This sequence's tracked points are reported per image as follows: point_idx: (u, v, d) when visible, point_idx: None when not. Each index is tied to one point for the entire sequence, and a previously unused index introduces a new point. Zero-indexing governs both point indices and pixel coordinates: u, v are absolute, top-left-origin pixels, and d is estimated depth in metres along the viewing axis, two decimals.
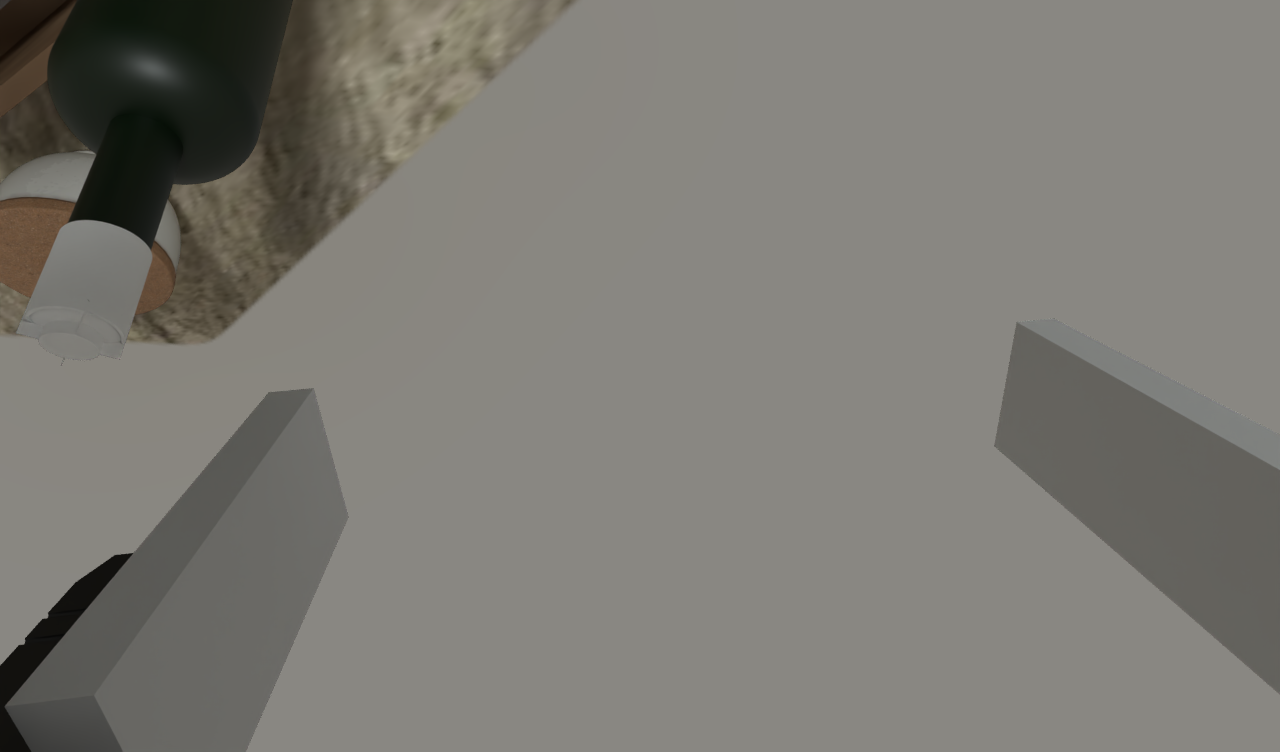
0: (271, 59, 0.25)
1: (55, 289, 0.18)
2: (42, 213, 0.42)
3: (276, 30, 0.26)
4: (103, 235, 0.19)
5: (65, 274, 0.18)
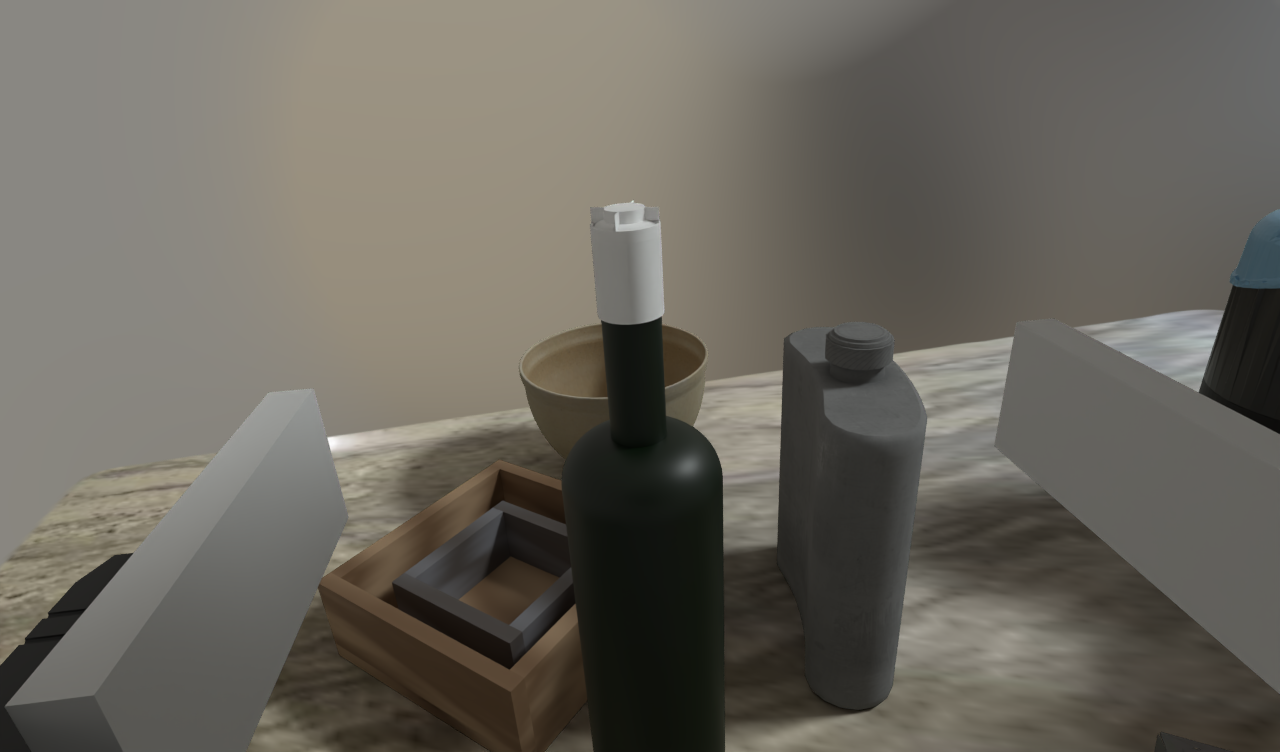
0: (670, 593, 0.24)
1: None
2: None
3: (676, 625, 0.25)
4: (663, 298, 0.22)
5: None
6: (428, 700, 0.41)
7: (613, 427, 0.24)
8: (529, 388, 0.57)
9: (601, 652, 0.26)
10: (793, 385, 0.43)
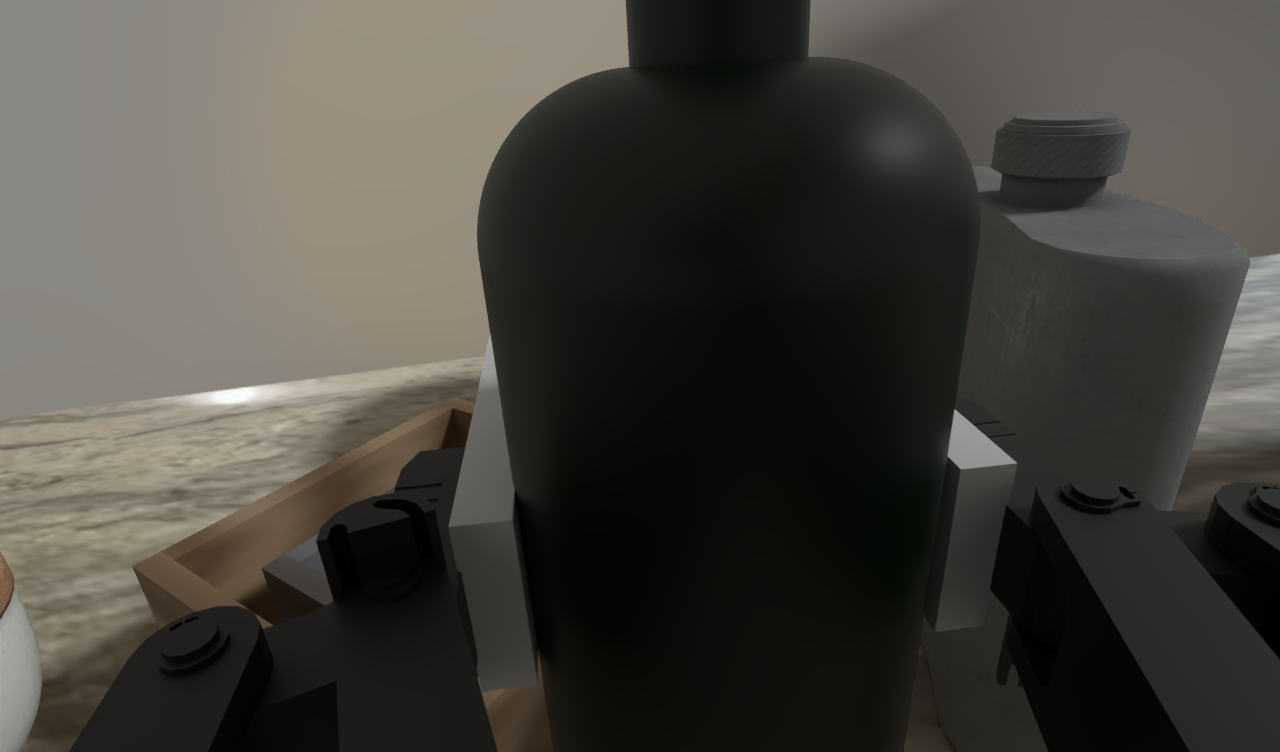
0: (827, 564, 0.07)
1: None
2: None
3: (831, 667, 0.08)
4: None
5: None
6: None
7: (640, 6, 0.07)
8: None
9: (599, 740, 0.09)
10: None
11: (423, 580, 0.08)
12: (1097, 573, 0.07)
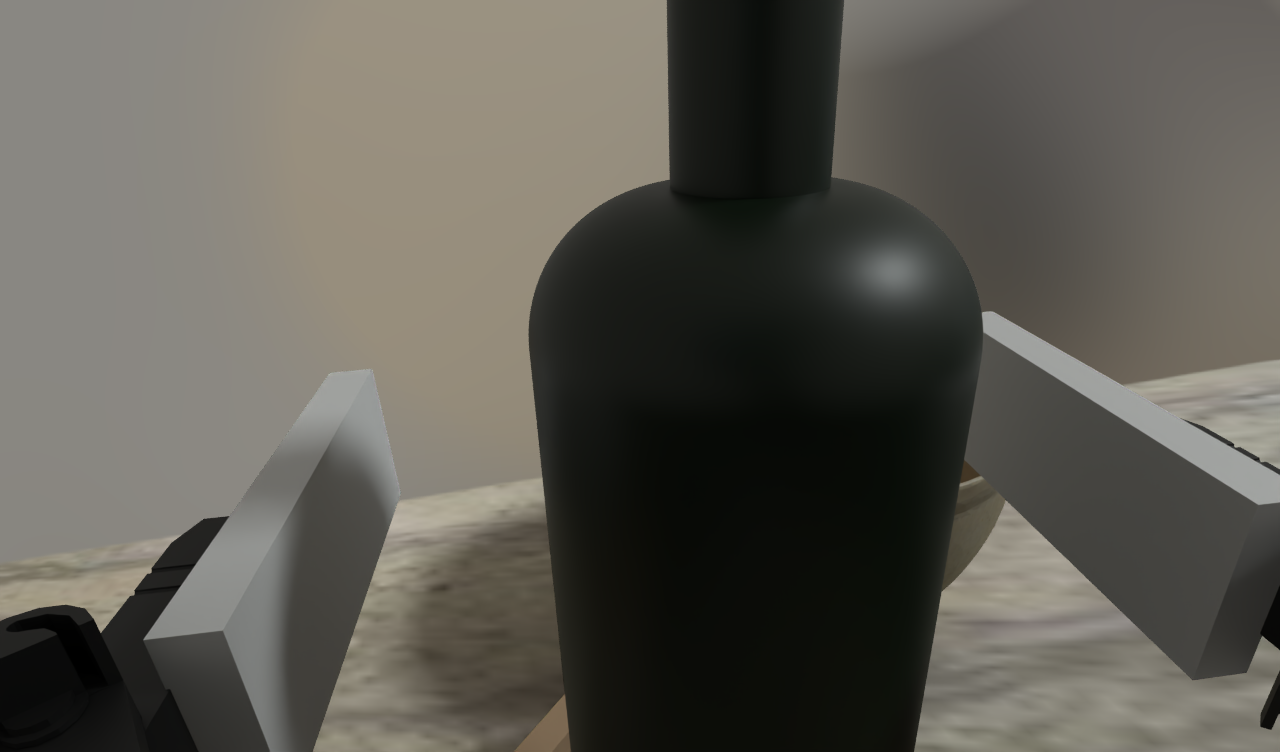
0: (845, 643, 0.08)
1: None
2: None
3: (846, 732, 0.09)
4: None
5: None
6: None
7: (684, 143, 0.08)
8: None
9: None
10: None
11: (89, 706, 0.06)
12: None
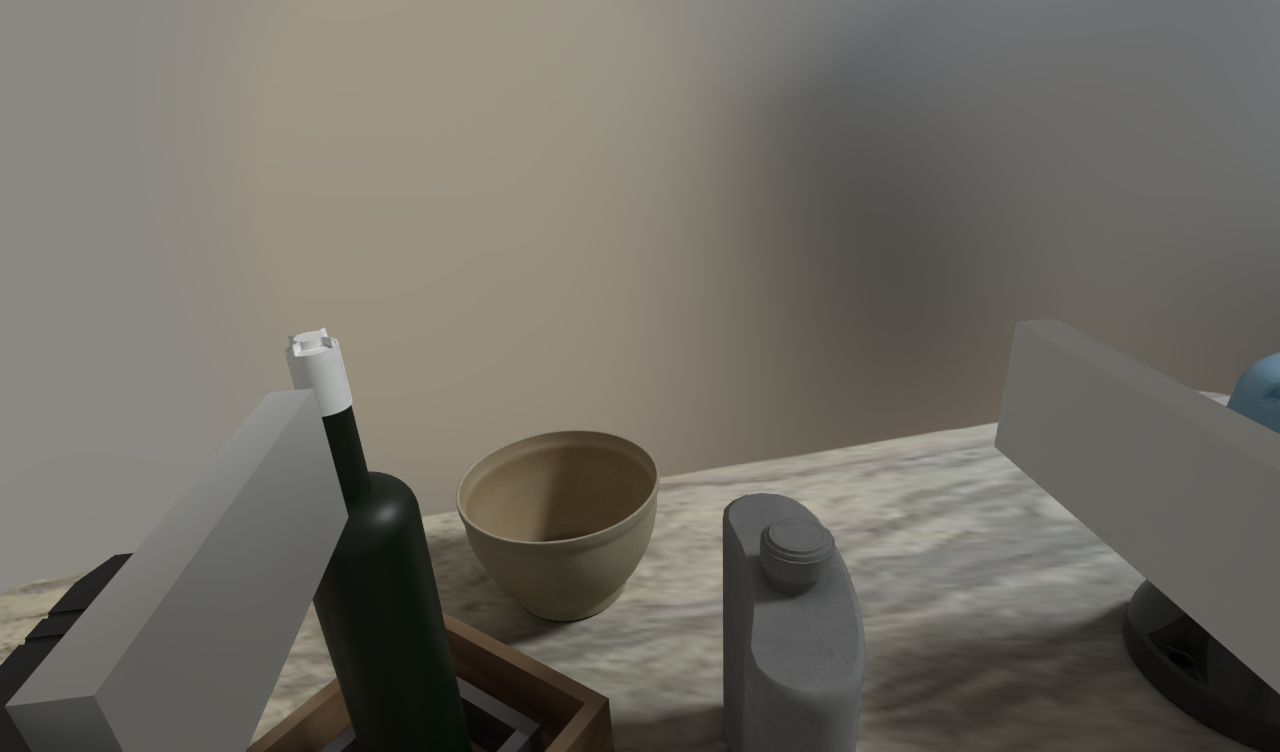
0: (367, 606, 0.33)
1: (340, 352, 0.31)
2: None
3: (377, 629, 0.34)
4: (347, 396, 0.31)
5: None
6: None
7: None
8: (464, 523, 0.53)
9: (331, 649, 0.35)
10: (731, 566, 0.39)
11: None
12: None
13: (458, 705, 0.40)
